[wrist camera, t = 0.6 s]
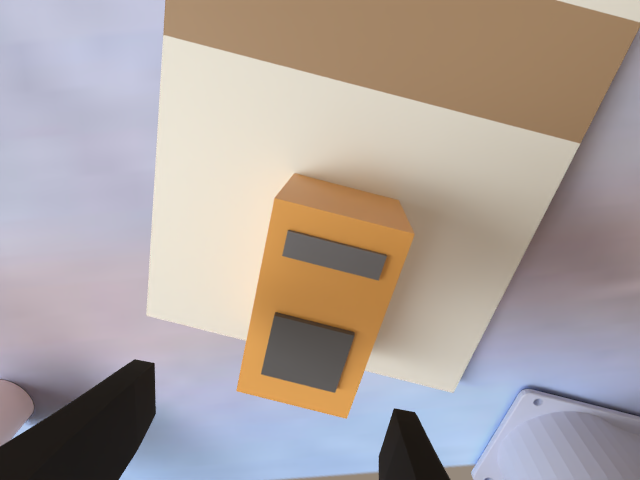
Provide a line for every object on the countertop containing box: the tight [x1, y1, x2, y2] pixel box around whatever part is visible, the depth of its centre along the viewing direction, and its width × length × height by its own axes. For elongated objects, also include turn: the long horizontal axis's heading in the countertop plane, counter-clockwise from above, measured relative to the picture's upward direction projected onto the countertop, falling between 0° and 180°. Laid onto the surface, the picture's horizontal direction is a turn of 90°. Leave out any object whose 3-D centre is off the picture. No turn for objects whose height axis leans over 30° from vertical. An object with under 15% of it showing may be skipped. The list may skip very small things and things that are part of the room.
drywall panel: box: [146, 0, 640, 393], centre depth 16 cm, size 18×23×1 cm
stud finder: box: [237, 173, 415, 419], centre depth 16 cm, size 5×9×5 cm, turn 166°
